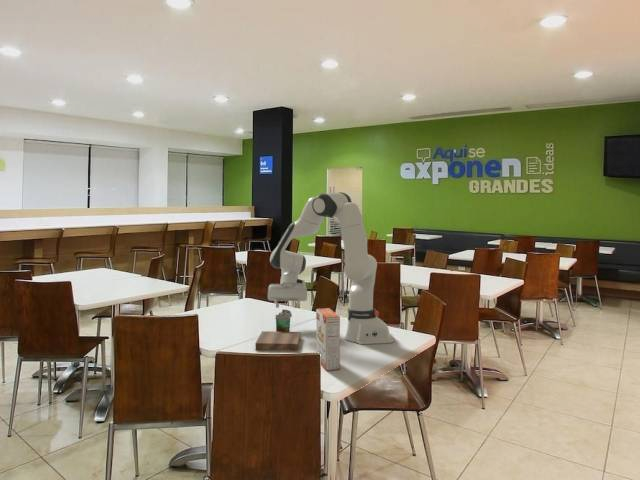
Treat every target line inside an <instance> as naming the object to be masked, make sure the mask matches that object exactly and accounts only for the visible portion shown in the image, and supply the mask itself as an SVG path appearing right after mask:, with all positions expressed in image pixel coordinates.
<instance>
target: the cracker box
mask: <svg viewBox="0 0 640 480" xmlns="http://www.w3.org/2000/svg"><path fill="white" fill-rule="evenodd" d="M315 314H316V320H315V321H316V322H315V323H316V325H315V327H316V328H315V329H316V332H315V333H316V334H315V335H316V337H315V339H316V353H317V352H319V353H320V354H321V364H320V365H321V366H322V368H323V369H324V370H325V371H327V372H328V371H337V370H340V369H341V367H340V364H341V362H340V359H341V358H340V357H341V356H340V355H341V349H340V348H341V345H340V344H341V343H340V342H341V341H340V340H341V337H340V336H341V334H340V331H341V325H340V324H341V318H340V315H338V314H337V313H336V312H335V311H333V310H332V309H331V308H330V307H326V308H316V313H315Z"/></svg>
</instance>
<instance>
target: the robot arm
mask: <svg viewBox="0 0 640 480" xmlns="http://www.w3.org/2000/svg"><path fill="white" fill-rule="evenodd" d="M361 213H362V212H361V211H360V209H359V206H358V205H357V204H356V203H355V202H353V201H352V199H351V197H350V195H348V194H347V193H345V192H332V191H331V192H324V193H320V194H317V195H316V196H312V197H310V198H308V200H307V202H306V204H305V205H304V207H303V208H302V212H301V214H300V215H299V217H298V219H297V220H296V221H294V222H292V223H290V224H289V225H288V226H287V229H286V230H285V231H284V233H283V235H282V236H281V238H280V239H279V241H278V244H277V245H276V246H275V248H274V249H273V250H272V252H271V254H270V257H269V263H270V265H271V266H272V268H274V269H279V270H280V269H281V272H280V273H281V276H280V283H270V284H269V285H268V287H267V300H268V301H270V302H272V301H273V302H274V303H275V308H280V303H279V302H278V301H282V302H286V301H287V302H290V301H291V302H294V309H298V308H299V305H300V304H301V302H306V301H308V290H307V285H306V281H305V280H303V279H300V278H298V275H301V274H302V273H303V272H305V270H306V264H307V259H306V256H305V255H304V254H301V253H298V252H293V251H289V250H286V248H287V247H288V245H289V244H290V242H291V240H293V239H295V238H299V237H309V236H313V235H315V234H316V233H317V232H319V230H320V228H321V226H322V223H323V220H324V218H333V217H335V218H336V219H337V221H338V223H339V229H340V232H341V234H340V235H341V237H342V242H343V248H344V269H343V270H344V275H345V276H346V278H348V279H349V280H350V281H351V283H350V288H349V292H348V309H347V321H348V322H347V329H346V332H345V337H344V338H345V340H347V341H349V342H353V343H357V344H359V345H376V344H391V343H394V341H395V338H394V335H393V334H391V333H390V328H389V326H388V325H387V323H385V322H384V320H382V319H381V318H379V317H378V316H379V315H380V312H379V311H378V310H377V309H376V308H374V289H375V283H376V275H377V268H378V262H377V259H376V258H375V257H374V256H373V255H371V254H369V253H368V236H367V232H366V228H365V224H364V220H363V216H362V214H361ZM295 302H296V303H295Z"/></svg>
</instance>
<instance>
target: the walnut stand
mask: <svg viewBox="0 0 640 480" xmlns="http://www.w3.org/2000/svg"><path fill="white" fill-rule="evenodd" d="M300 342H301V331H289V332H276V331H271V330H270V331H267V330H266V331H265V330H264V331H261V332H260V334H259V336H258V338H257V339H256V342H255V346H254V347H255V351H285V350H287V352H288V350H289V352H291V351H292V352H294V351H296V352H297V351H298V350H299V346H300Z"/></svg>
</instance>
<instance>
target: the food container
mask: <svg viewBox="0 0 640 480" xmlns="http://www.w3.org/2000/svg"><path fill="white" fill-rule="evenodd" d="M292 317H293V314H292V312H291V311H290V310H289V309H283V308H282V310H281V312H279V313H278V314H275V329H276V331H275V332H290V327H291V318H292Z"/></svg>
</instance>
